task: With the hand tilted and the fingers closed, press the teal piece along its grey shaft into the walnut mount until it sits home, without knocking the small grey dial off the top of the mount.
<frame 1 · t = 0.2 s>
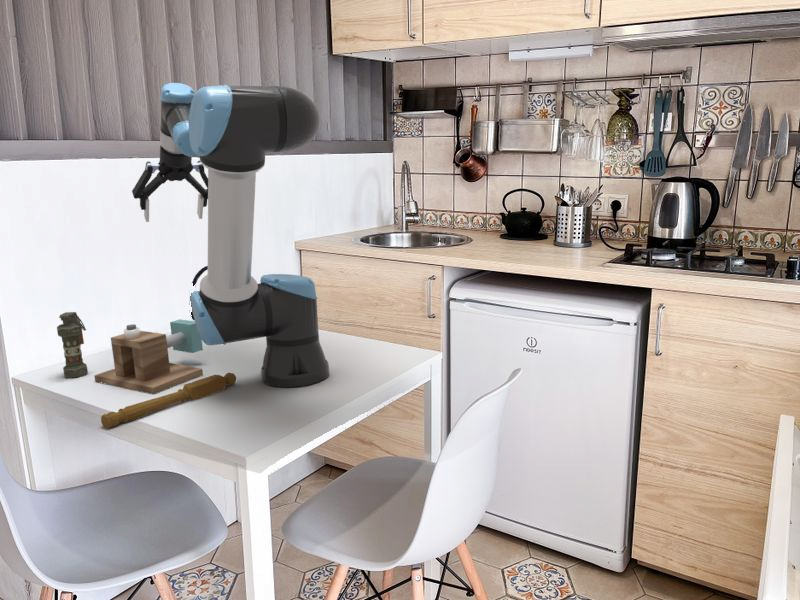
hand: (173, 217, 179), 34 cm above the table, tool tilted 30°, fingers open, 13 cm apart
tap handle: (175, 405, 138), on the table
teal piece: (170, 341, 160), point 7 cm above the table, slide at 8.0 cm
grenade: (79, 374, 161), on the table
mount: (149, 378, 156), on the table
headphones: (222, 324, 204), on the table
dial: (132, 337, 151), point 10 cm above the table, touching mount
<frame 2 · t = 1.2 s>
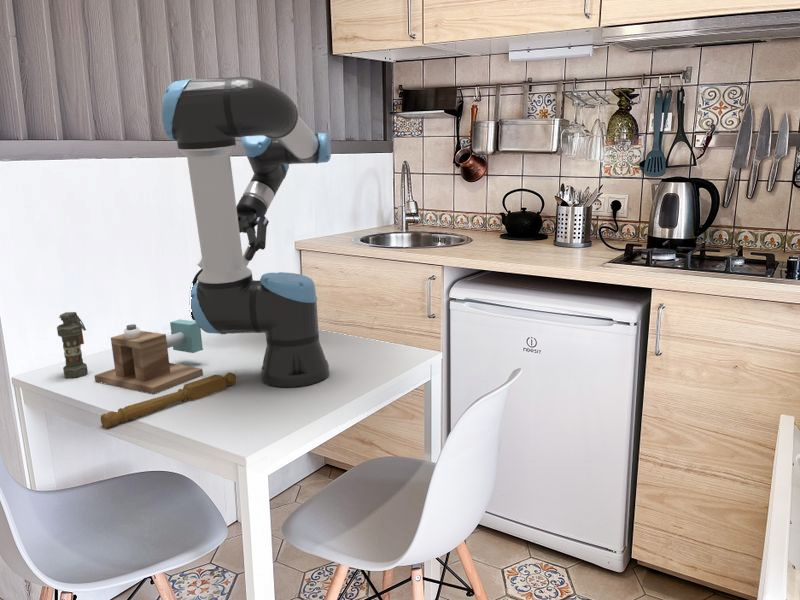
hand: (219, 268, 171), 22 cm above the table, tool tilted 45°, fingers open, 12 cm apart
nothing on the table moved.
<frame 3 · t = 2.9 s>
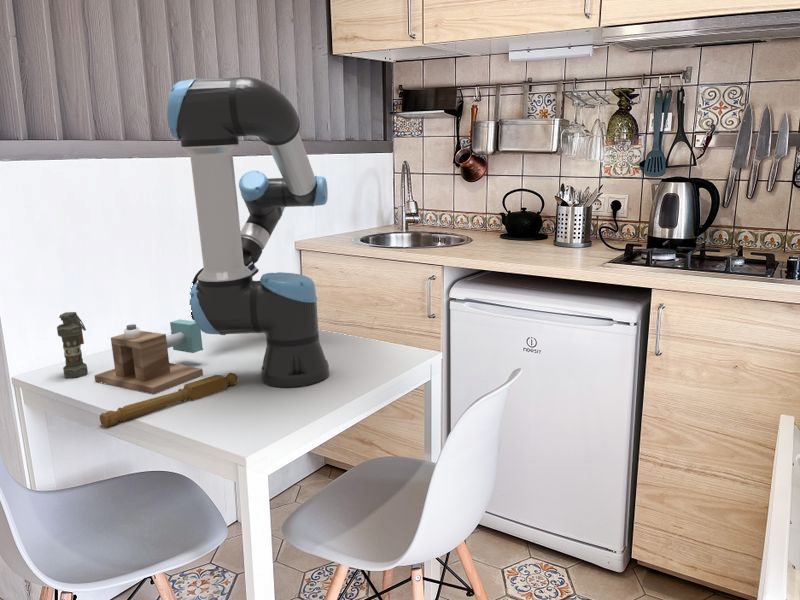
hand: (210, 319, 171), 9 cm above the table, tool tilted 45°, fingers closed
nothing on the table moved.
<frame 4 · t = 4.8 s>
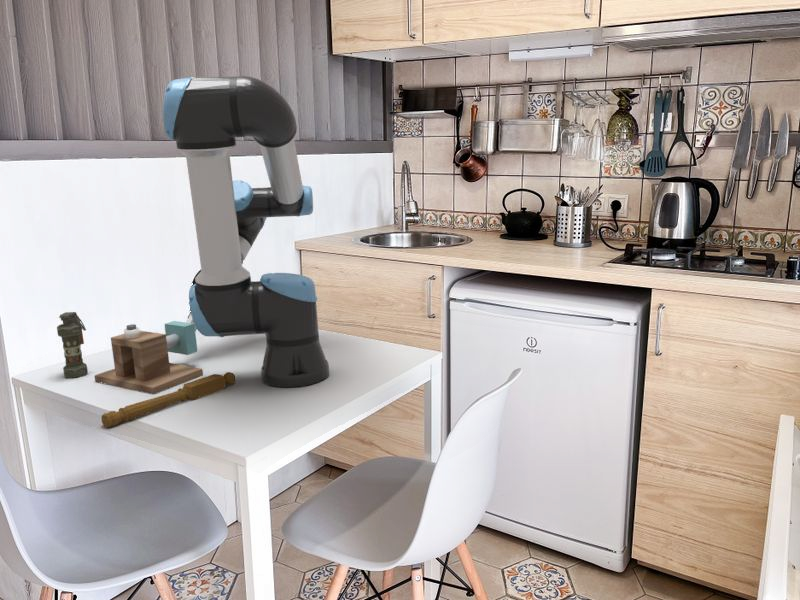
hand: (187, 332, 165), 8 cm above the table, tool tilted 45°, fingers closed
teal piece: (165, 342, 159), point 7 cm above the table, slide at 6.3 cm, touching gripper
everything else where it was.
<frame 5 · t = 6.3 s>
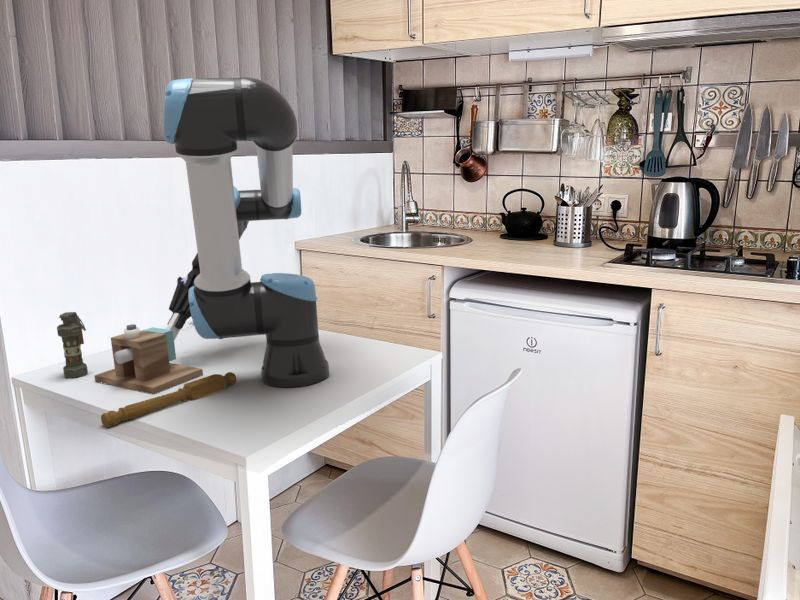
hand: (167, 339, 160), 8 cm above the table, tool tilted 45°, fingers closed
teal piece: (142, 350, 153), point 7 cm above the table, slide at -0.2 cm, touching gripper
everything else where it was.
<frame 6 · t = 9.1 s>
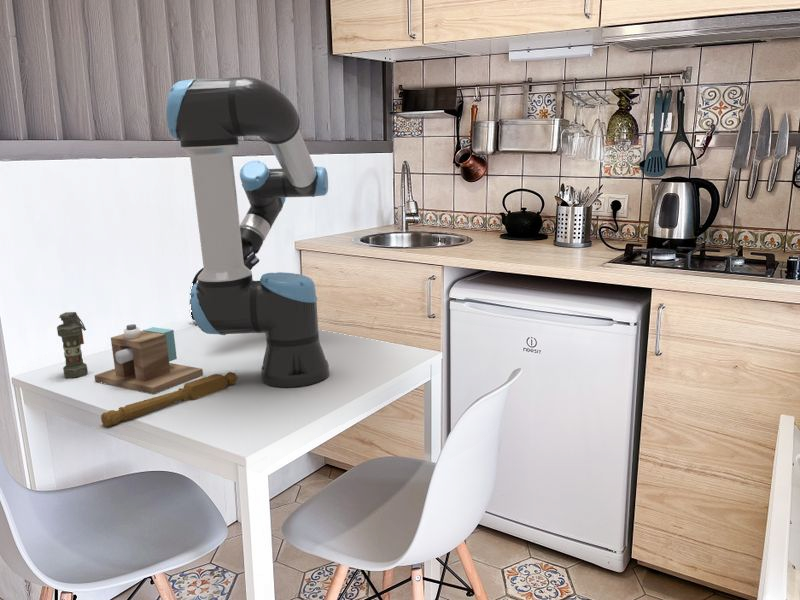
hand: (210, 308, 170), 12 cm above the table, tool tilted 45°, fingers closed
teal piece: (142, 349, 153), point 7 cm above the table, slide at 0.0 cm
everything else where it was.
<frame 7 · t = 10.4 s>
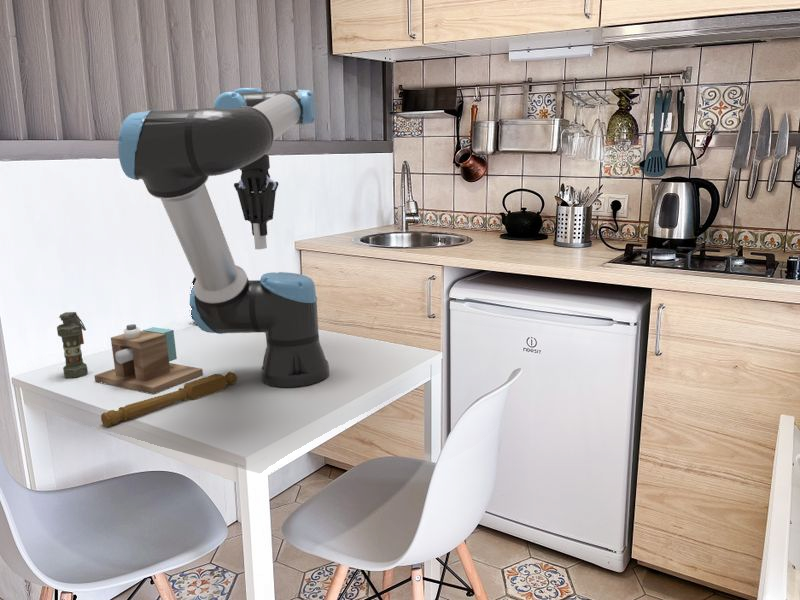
hand: (261, 248, 171), 26 cm above the table, tool pointing down, fingers closed
nothing on the table moved.
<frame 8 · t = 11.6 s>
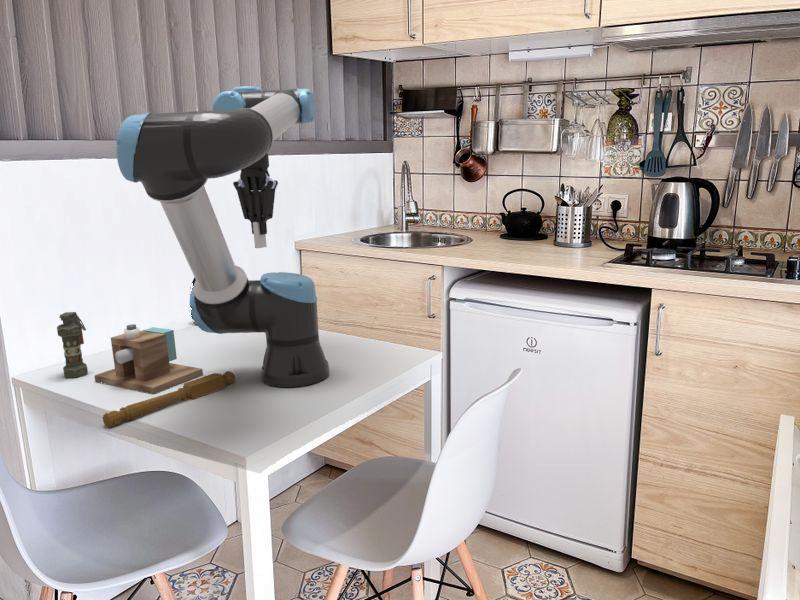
hand: (260, 247, 171), 26 cm above the table, tool pointing down, fingers closed
nothing on the table moved.
at the end: teal piece slide at 0.0 cm; dial moved 0.0 cm from its start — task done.
